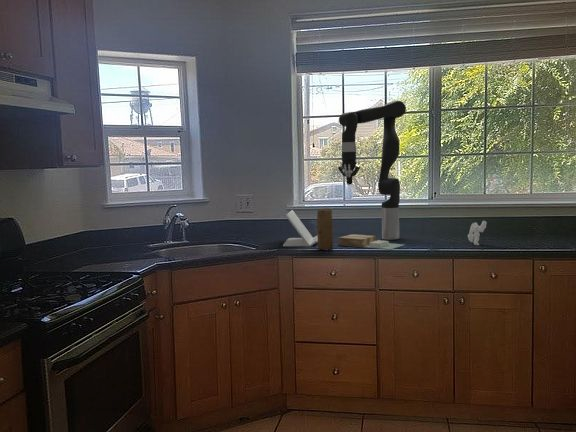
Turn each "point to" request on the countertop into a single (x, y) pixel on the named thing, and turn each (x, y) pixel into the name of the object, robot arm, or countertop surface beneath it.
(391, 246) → the mat
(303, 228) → the tablet stand
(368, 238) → the board
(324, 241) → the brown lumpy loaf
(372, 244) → the pale grey rectangular block
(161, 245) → the countertop surface
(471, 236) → the figurine
